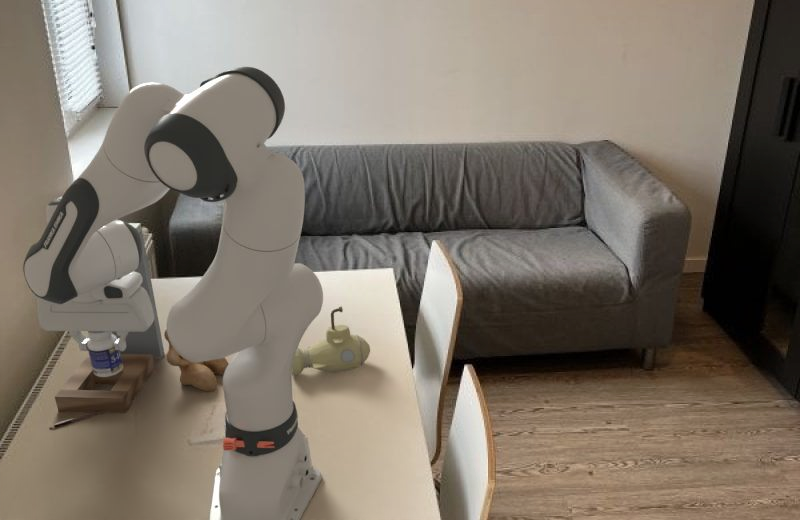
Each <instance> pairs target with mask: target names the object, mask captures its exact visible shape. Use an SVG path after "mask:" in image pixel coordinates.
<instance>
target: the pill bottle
mask: <svg viewBox="0 0 800 520" xmlns="http://www.w3.org/2000/svg"><path fill="white" fill-rule="evenodd" d="M87 334H88V338H90V340H89V341H88V343H87V347H88V355H89V356H90V360H91V364H92V368H93V372H94V374H95V375H96V376H99V377H109V376H113V375H115V374H117V373H119V372H120V371H121V370H122V368H123V363H122V358H121V353H120V351H115V347H114V342H115V341H116V340H117V337H116V336H115V335H113V334H112V331H87Z"/></svg>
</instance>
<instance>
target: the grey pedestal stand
mask: <svg viewBox="0 0 800 520" xmlns="http://www.w3.org/2000/svg"><path fill="white" fill-rule="evenodd" d="M127 223H128V224H130V225H132V226H133V227H135V228H136V230H137V231H138V233H139V235H140V238H141V241H142V245H143V257H142V261H141V264H140V266H139V268H138V269H137V270H135V271H134V272H138V273H140V274H141V276H142V283H141V285H140V286H141V287H143V288H144V289H145V290H146V291H147V293H148V295H149V298H150V301H151V304H152V308H153V313H154V321H153V323H152V324H151V326H150V327H149V328H148V329H147V330H146V331H145V332H128V334H127V337H126V339H125V341H126V349H125V350H124V351H120V353H121V354H146V355H152V356H153V359H162V358H163V356H164V355H165V349H164V343H163V339H162V333H161V332H162V331H161V328H160V322H159V317H158V310H157V306H156V300H155V293H154V289H153V283H152V278H151V272H150V267H149V261H148V257H147V251H146V245H145V240H144V235H143V229H142V223H141V222H140V223H139V222H138V223H137V222H136V223H135V222H127ZM112 334H113V335H115V336H116V337H117V339H120V336H121V335H120V336H118V335H117V332H116V331H112Z"/></svg>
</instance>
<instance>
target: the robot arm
mask: <svg viewBox="0 0 800 520" xmlns="http://www.w3.org/2000/svg"><path fill="white" fill-rule="evenodd" d="M285 109H286V104H285V99H284V95H283V93H282V90H281V88H280V87H279V85H278V84H277V82H276V81H275V80H274V79H273V78H272V77H271V76H270V75H269V74H267V73H266V72H265V71H263V70H260V69H259V68H257V67H253V66H252V67H251V66H241V67H235V68H233V69H229V70H226V71H222V72H221V73H218V74H216V75H215V76H213V77H210V78H208V79H206V80H203V81H202V82H201V83H200V85H199V87H198V88H197V89H196V90H194V91H192V92H191V93H189V94H186V93H182V92H180V91H179V90H178V89H176V88H174V87H172V86H170V85H168V84H165V83H160V82H145V83H142V84H139V85H137V86H134V87H132V89H130V90H129V91H128V92H127V94H126V95H125V97H123V100H121V102H120V103H119V105H118V107H117V109H116V110H115V111H114V114H113V116H112V118H111V120H110V123H109V125H108V127H107V130H106V132H105V135H104V138H103V141H102V144H101V146H100V147H99V149H98V151H97V152H96V154H95V155H94V156H93V158H92V160H91V162H89V164H88V165H87V167H86V168H85V169H84V170H83V172H81V174H80V175H79V176H78V177H77V178H76V179H75V180H74V181H73V182H72V183H71V184H70V185H69V187H68V188H67V189H66V190H65V192H64V194H63V195H62V196H60V197H57V198H54V199H53V200H51V201H50V202H49V203H48V204H47V205H46V209H45V210H46V212H45V213H46V215H45V217H46V224H47V226H46V227H45V229H44V231H43V233H42V235H41V237H40V238H39V240H38V241H37V242H35V243H34V244H32V245H31V246H30V248H29V249H28V251H27V253H26V255H25V257H24V261H23V267H22V268H23V269H22V270H23V274H24V275H23V276H24V279H25V282H26V284H27V286H28V288H29V289H30V291H31V292H32V294H34V299H35V300H36V302H37V306H36V310H37V317H38V321H39V322H38V323H39V326H40V327H41V329H43V330H44V331H46V332H68V333H69V336H70V337H71V338H72V339H73V340H74V341H75V342H76V343H77V345H78V347H79V351H81V352H82V351H83V352H85V351H86V352H87V351H88V347H87V343H88V341H89V340H90V338H89V337H88V338H87V337H86V336H85V335H84V333H83V332H88V331H116V332H117V335H118V336H120V335H121V336H120V339H117V340H116V341H115V342H114V347H115V351H124V350H125V349H126V341H125V339H126V337H127V334H128V332H145V331H146V330H147V329H148V328H149V327H150V326H151V324H152V323H153V321H154V313H153V308H152V304H151V301H150V298H149V295H148V293H147V291H146V290H145V289H144V288H143V287H141V286H140V285H141V283H142V276H141V274H140V273H138V272H134V271H135V270H137V269H138V268H139V266H140V264H141V261H142V257H143V245H142V241H141V238H140V235H139V233H138V231H137V230H136V228H135V227H133V226H132V225H130V224H128V223H129V222H126V221H125V220H122V219H121V218H123V217H126V216H128V215H130V214H132V213H133V214H134V213H135V212H139V211H140V210H142V209H144V208H146V207H149V206H151V205H153V204H155V203H157V202H159V200H161V199H162V198H163V197H164V196H165V195H166V194H167V193H168V192H169V190H172V191H174V192H175V193H177V194H181V195H183V196H186V197H189V198H193V199H201V200H202V201H204V202H207V203H217V202H221V201H224V204H223V205H224V207H223V213H222V221H221V227H220V229H221V230H220V235H219V241H218V247H217V251H216V254H215V257H214V259H213V260H212V262H211V264H210V265H209V267H208V268H207V271H205V273H204V274H203V276H202V277H201V279H200V280H199V281H198V282H197V283H196V285H195V286H194V287H193V288H192V289H190V291H189V292H188V293H186V295H184V296H183V297H182V298H180V300H178V301H177V302H175V303H174V304H173V305H172V306H171V307H170V310H169V312H168V315H167V320H166V329H167V334H168V338H169V341H170V343H171V345H172V347H173V348H174V349H175V351H176V352H177V353H178V354H179V355H180V356H182V357H183V358H184V359H186V360H188V361H190V362H192V363H197V362H204V361H210V360H215V359H220V358H224V357H225V358H227V357H230V356H232V355H235V354H236V355H235V356H234V357H233V358H232V359H231V360H230V362H228V366H227V368H226V370H225V372H224V375H222V390H223V396H224V403H225V409H226V412H225V415H224V434H223V435H222V437H223V441H222V443H223V444H222V456H221V463H220V464H219V466H218V468H217V469H216V470H215V475H214V476H215V477H214V482H213V487H212V488H213V490H212V495H211V501H210V502H211V503H210V508H209V509H210V510H209V516H208V520H301V518H302V516H303V514H304V513H305V511H306V509H307V507H308V505H309V503H310V502H311V500H312V497H313V496H314V494H315V492H316V490H317V489H318V487H319V485H320V482H321V481H322V478H323V475H322V471H321V470H320V469H319V468H317V467H316V466H314V465H313V462H312V456H311V450H310V449H311V448H310V445H309V439H308V436H307V435H306V434H304V433H303V432H302V430H301V429H300V427H298V425H299V422H298V420H299V419H298V418H299V416H298V410H297V408H296V407H297V406H296V404H295V402H294V400H293V399H294V398H293V384H292V383H293V380H292V374H291V373H292V364H293V360H294V356H295V353H296V350H297V348H299V346H300V342H301V340H302V338H303V337H304V334H305V332H306V331H307V330H308V328H309V327H310V325H311V324H312V322H313V321H314V320H315V319H316V318H317V317H318V316H319V314H320V313H321V310H322V307H323V303H324V291H323V287H322V283H321V281H320V279H319V277H318V276H317V274H315V272H314V271H313V270H312V269H311V268H309V266H307V265H306V264H305V265H304V264H303V263H301V262H300V263H299V262H298V263H296V262H295V261H296V257H297V252H298V249H299V248H298V247H299V244H300V239H301V234H302V230H303V229H302V228H303V223H304V217H305V216H304V215H305V201H306V195H305V194H306V192H305V191H306V190H305V189H306V188H305V178H304V175H303V173H302V170H301V169H300V167H299V166H298V165H297V163H296V162H295V161H294V160H292V159H291V158H289V156H286V155H283V154H281V153H278V152H273V151H271V150H270V149H269V148H268V147H267V145H266V144H265V143H266V142H267V140H269V139H271V137H273V136H274V135H275V133H276V132H277V130H278V129H279V128H280V125H281V124H282V121H283V119H284V116H285V111H286V110H285ZM221 196H222V197H221ZM88 352H89V351H88Z"/></svg>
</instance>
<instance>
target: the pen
mask: <svg viewBox="0 0 800 520" xmlns="http://www.w3.org/2000/svg"><path fill="white" fill-rule="evenodd" d="M103 413H105V412H103V411H98V412H90V413H89V414H85V415H82V416H78V417H76V418H75V417H74V418H69V419H65V420H62V421H59V422H57V423H54V424H53V425H52V426H51V427H48V428H49V430H55V429H57V428H61V427H64V426H68V425H70V424H74V423H76V422H80V421H83V420H86V419H88V418H89V419H90V418H92V417H94V416H98V415H100V414H103Z"/></svg>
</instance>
